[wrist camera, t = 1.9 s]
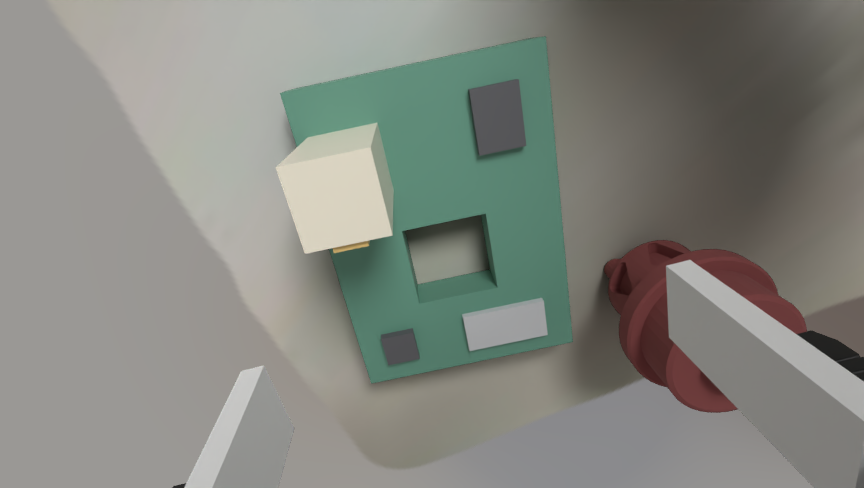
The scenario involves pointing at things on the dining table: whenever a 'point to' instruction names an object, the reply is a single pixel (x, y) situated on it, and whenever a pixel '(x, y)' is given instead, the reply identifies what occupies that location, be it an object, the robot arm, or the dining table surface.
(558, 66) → the dining table surface
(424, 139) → the board
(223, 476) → the robot arm
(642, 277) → the mechanical component
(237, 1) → the dining table surface
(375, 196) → the plug
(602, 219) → the dining table surface
